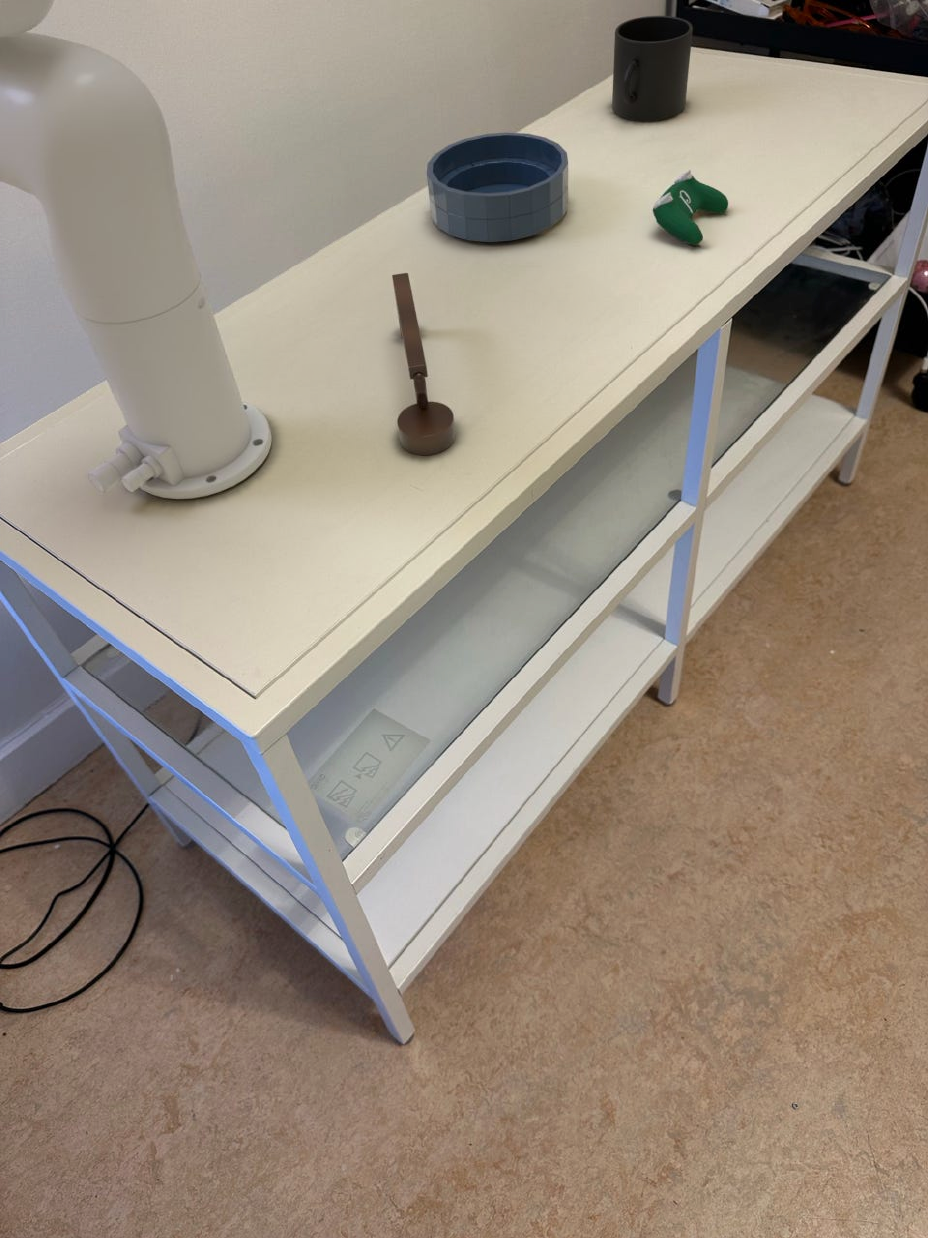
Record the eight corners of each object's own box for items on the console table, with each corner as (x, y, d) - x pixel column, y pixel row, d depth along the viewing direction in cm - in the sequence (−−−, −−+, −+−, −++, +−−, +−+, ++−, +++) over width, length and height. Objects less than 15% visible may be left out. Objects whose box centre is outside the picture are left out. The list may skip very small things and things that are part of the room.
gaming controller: (707, 222, 101) (674, 178, 99) (734, 202, 98) (700, 156, 96) (675, 262, 96) (640, 216, 94) (702, 242, 93) (666, 194, 91)
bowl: (516, 259, 96) (514, 207, 91) (405, 226, 102) (398, 177, 98) (593, 197, 103) (594, 147, 99) (484, 170, 110) (481, 123, 105)
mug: (589, 123, 116) (590, 44, 109) (632, 88, 122) (636, 11, 115) (656, 135, 112) (662, 54, 105) (697, 98, 118) (705, 19, 111)
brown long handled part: (459, 450, 76) (452, 390, 71) (403, 459, 76) (392, 399, 71) (432, 327, 88) (425, 269, 84) (384, 334, 88) (374, 277, 84)
